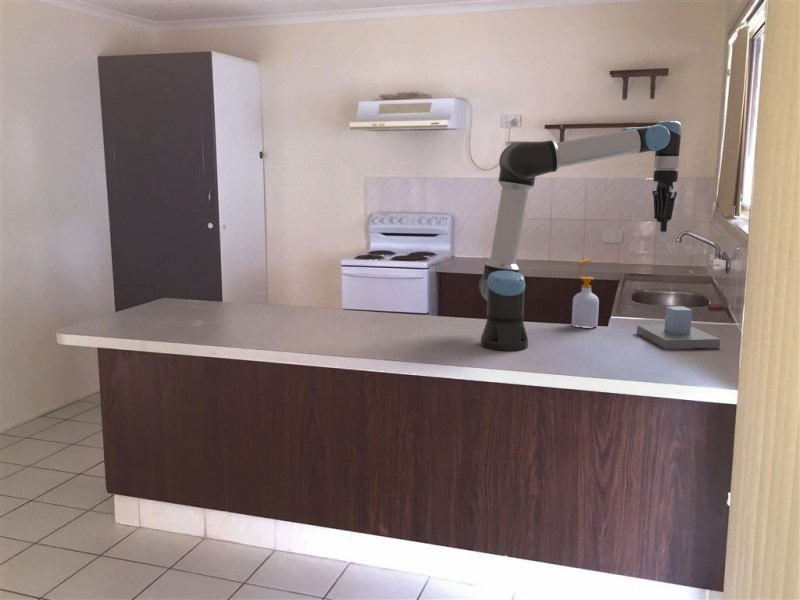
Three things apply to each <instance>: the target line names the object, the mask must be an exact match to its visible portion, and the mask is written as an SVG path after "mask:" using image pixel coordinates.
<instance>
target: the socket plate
mask: <svg viewBox="0 0 800 600" xmlns="http://www.w3.org/2000/svg"><path fill="white" fill-rule="evenodd" d="M664 329H665V324H637V325H636V334H637V335H638V334H639V335H638V336H640V335H641V336H640V337H642V338H644V339H646V340H647V339H648V340H647V341H649V340H650V341H649V342H652V343H654V344H655V345H657V346H658V347H660V346H661V348H662V349H664V350H694V349H693V348H708V349H720V345H721V338H719V337H716V336H714V335H712V334H709V333H707V332H705V331H703V330H700V329H698V328H696V327H694V326H692V325H691V330H690V334H672V333H669V332H667V331H665V330H664ZM691 348H692V349H691Z"/></svg>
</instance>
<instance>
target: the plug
mask: <svg viewBox="0 0 800 600" xmlns="http://www.w3.org/2000/svg"><path fill="white" fill-rule="evenodd" d="M692 316H693V309H691V308H688V307H686V306H681V305H680V306H679V305H678V306H665V316H664V317H665V318H664V325H665V329H664V330H665V331H667V332H669V333H672V334H690V330H691V326H692Z"/></svg>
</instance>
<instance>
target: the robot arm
mask: <svg viewBox="0 0 800 600" xmlns="http://www.w3.org/2000/svg"><path fill="white" fill-rule="evenodd" d="M681 140H682V125H681V122H679V121H676V120H675V121H671V120H670V121H658V122H657V124H653V125H649V126H641V127H640V126H639V127H632V126H631V127H622V128H621V130H620V131H616V132H610V133H605V134H599V135H592V136H588V137H581V138H577V139H576V138H575V139H572V140H565V141H564V140H563V141H561V142H555V141H553V140H546V141H538V142H537V141H521V142H520V141H519V142H518V141H517V142H513V143H511V144H509V145H508V146H506V147H505V148H504V149H503V151H502V152H501V154H500V156H499V161H498V163H499V169H500V170H499V174H498V183H499V186H501V191H500V192H501V193H500V199H499V205H498V210H497V216H496V221H495V227H494V235H493V240H492V245H491V253H490V258H489V260H487V261H486V262H484V267H483V272H482V273H483V274H482V275H481V277H480V279H479V283H478V289H479V293H480V295H481V297H482V298H483V299H484V301H486V302H487V303H486V322H485V325H484V328H483V331H482V333H481V336H480V346H482V348H486V349H489V350H496V351H508V352H509V351H521V350H525V349H527V348H528V347H529V338H528V335H527V330H526V327H525V324H524V315H525V293H526V292H525V289H526V282H525V281H526V280H525V277H524V275H523V274H521V272H520V267H519V266H518V265H517V257H518V252H519V246H520V241H521V235H522V234H521V233H522V228H523V222H524V216H525V211H526V205H527V200H528V194H529V191H530V190H531V189H533V188H534V185H535V181H536V177H538V176H543V175H545V174H549V173H555V172H557V171H558V170H559V168H564V167H570V166H575V165H580V164H586V163H590V162H597V161H601V160H602V161H603V160H608V159H613V158H619V157H624V156H631V155H635V154H642V153H647V152H654V162H653V163H654V164H653V169H655V170H654V171H653V178H652V179H653V181H654V182H655V183H657V185H656V189H654V190H652V196H653V212H654V213H653V217H654V220H656V221H657V223H656V225H657V226H656V239H655V242H666V241H667V231H668V222H669V221H672V217H673V212H674V207H675V201H676V198H677V194H678V192H677V191H674V183H676V182H678V181H679V179H678V178H679V171H678V170H677V169H678V168H679V163H680V161H681V160H680V149H681Z"/></svg>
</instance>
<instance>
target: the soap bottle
mask: <svg viewBox="0 0 800 600" xmlns="http://www.w3.org/2000/svg"><path fill="white" fill-rule="evenodd" d="M593 261H594V260H593V258H588V259H583V260H581V261H580V262H579V265H578V266H579V267H578V276H579V279H580V280H582V282H584V284H581V291H580V292H578V293H576V294H575V295H574V296H573V298H572V311H571V325H578V326H590V327H596V328H597V327H598V324H599V306H600V305H599V304H600V300H599V297H598V296H597V295H596V294H594V293H593V292H592V285H590V283H591V282H592V281H593V280H594V279H595V278H594V277H593V276H581V272H582V271H581V267H582V265H583V264H587V263H589V262H593ZM574 328H577V326H575V327H574Z"/></svg>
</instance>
